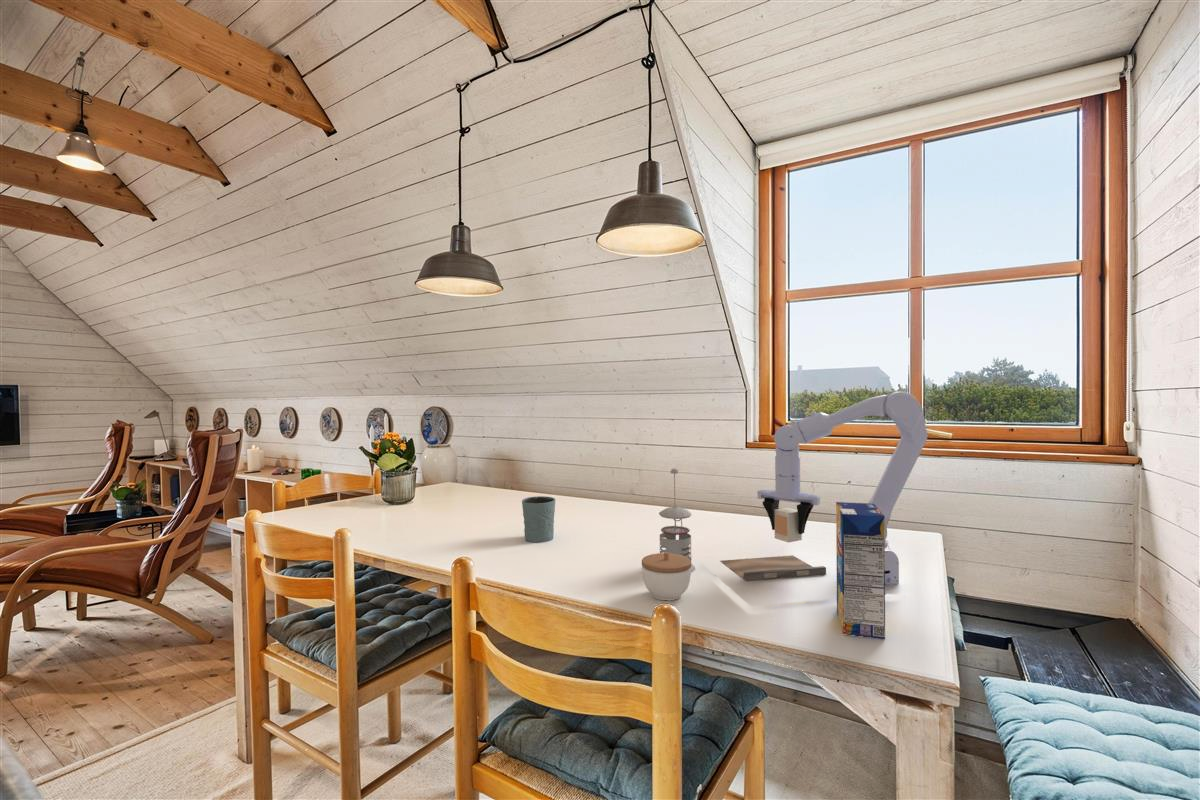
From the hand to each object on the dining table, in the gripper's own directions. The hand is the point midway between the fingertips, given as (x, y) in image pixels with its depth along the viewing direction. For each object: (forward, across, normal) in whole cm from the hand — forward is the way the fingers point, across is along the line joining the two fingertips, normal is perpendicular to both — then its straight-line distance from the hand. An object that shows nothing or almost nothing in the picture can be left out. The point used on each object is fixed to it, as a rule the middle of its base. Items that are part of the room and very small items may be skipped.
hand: (788, 531), depth 134 cm
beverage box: (+10, -21, +22) cm, 32 cm away
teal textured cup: (+10, +71, +13) cm, 73 cm away
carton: (+2, 0, 0) cm, 2 cm away
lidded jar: (+10, +16, +30) cm, 36 cm away
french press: (+10, +24, +12) cm, 29 cm away
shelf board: (+10, +4, +2) cm, 11 cm away
